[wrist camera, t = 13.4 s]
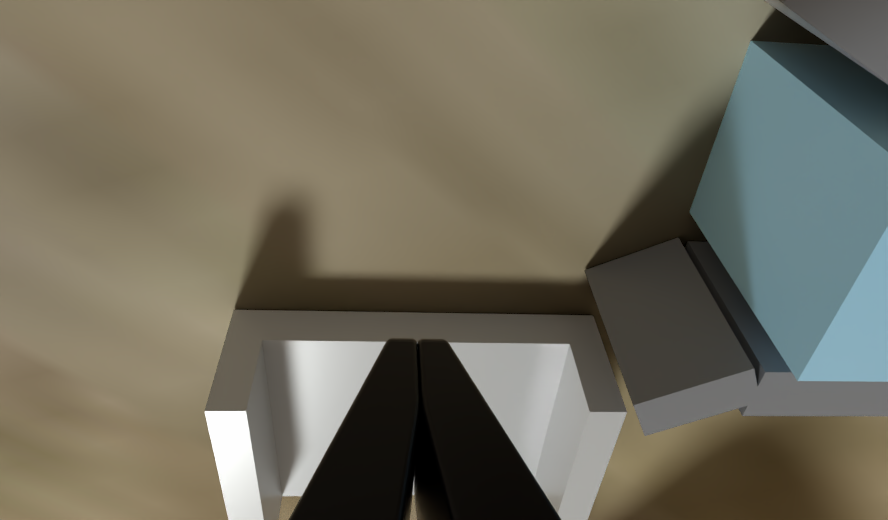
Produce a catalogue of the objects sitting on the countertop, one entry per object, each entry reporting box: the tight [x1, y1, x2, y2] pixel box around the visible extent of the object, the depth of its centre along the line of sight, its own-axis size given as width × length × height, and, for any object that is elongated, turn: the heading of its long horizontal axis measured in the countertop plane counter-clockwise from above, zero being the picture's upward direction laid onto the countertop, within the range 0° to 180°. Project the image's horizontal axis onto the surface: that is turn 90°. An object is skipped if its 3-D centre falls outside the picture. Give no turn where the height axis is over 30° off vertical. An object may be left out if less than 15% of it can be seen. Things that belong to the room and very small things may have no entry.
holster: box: [205, 310, 627, 520], centre depth 17 cm, size 9×6×3 cm
